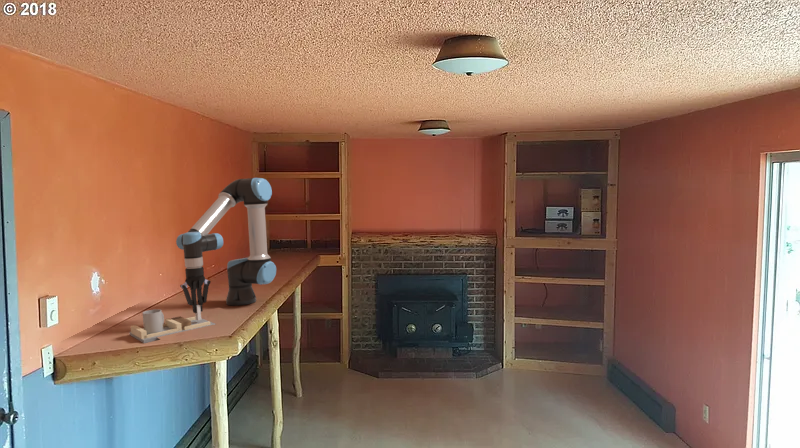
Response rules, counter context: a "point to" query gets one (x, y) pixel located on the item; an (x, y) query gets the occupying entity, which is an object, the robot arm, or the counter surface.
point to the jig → (167, 329)
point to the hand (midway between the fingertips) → (198, 319)
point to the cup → (153, 321)
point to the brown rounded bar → (182, 321)
